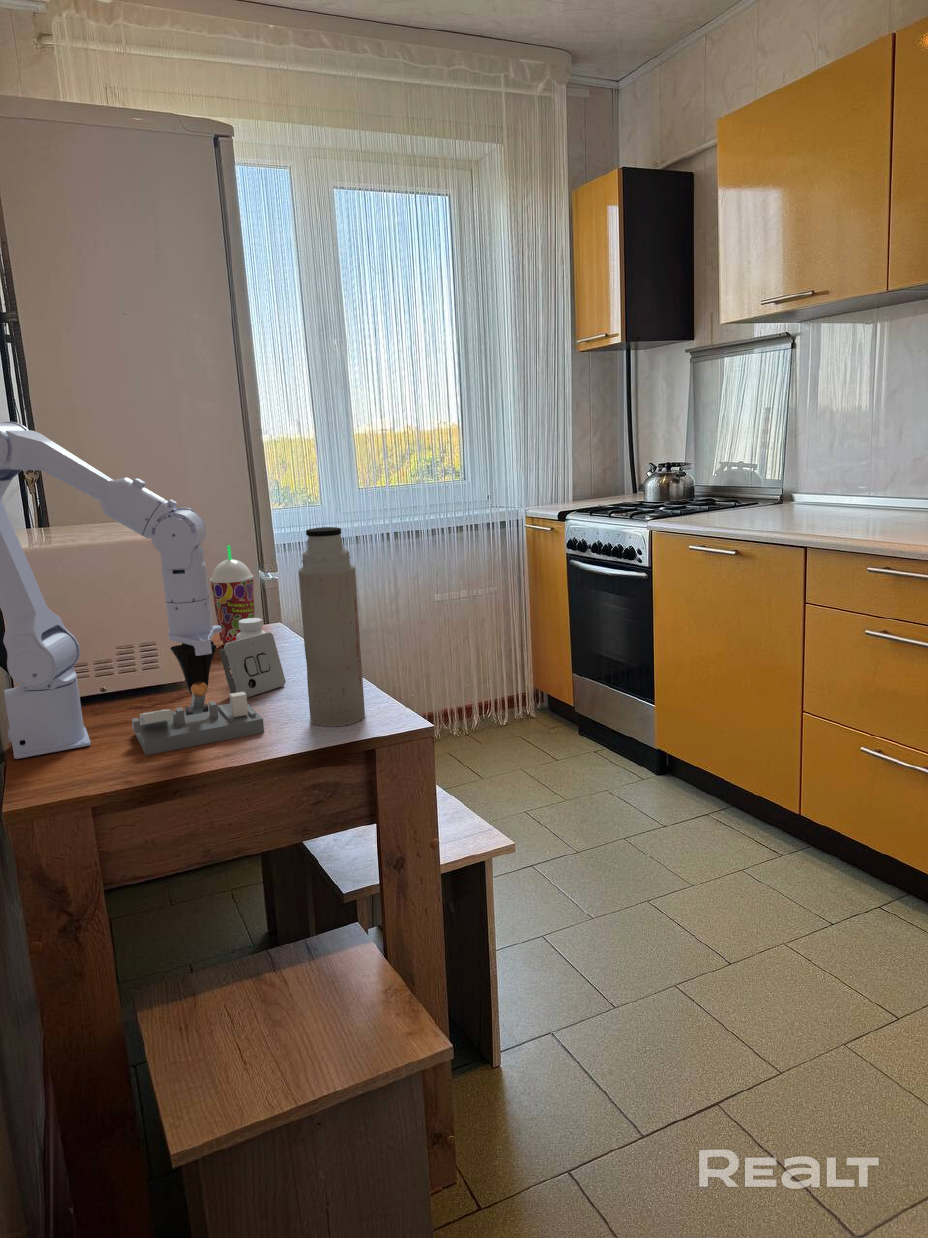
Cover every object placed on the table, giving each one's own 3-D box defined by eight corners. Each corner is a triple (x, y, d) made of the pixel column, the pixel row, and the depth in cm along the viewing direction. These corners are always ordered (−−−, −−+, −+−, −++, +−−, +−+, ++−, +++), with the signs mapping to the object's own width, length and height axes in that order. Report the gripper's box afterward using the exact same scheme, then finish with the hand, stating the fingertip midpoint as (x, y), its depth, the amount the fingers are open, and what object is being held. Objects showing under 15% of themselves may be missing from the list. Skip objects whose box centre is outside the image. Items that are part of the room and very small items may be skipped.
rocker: (145, 723, 117) (144, 713, 117) (140, 722, 122) (139, 713, 122) (173, 718, 119) (171, 708, 119) (167, 717, 124) (165, 708, 124)
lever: (187, 720, 123) (190, 693, 117) (183, 707, 124) (186, 680, 118) (208, 716, 124) (213, 690, 118) (205, 703, 125) (209, 676, 119)
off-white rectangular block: (234, 717, 123) (232, 696, 122) (231, 714, 125) (229, 694, 124) (248, 714, 124) (246, 694, 123) (245, 711, 125) (243, 691, 125)
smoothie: (237, 651, 170) (227, 549, 165) (207, 646, 174) (197, 547, 170) (268, 641, 177) (259, 543, 172) (239, 637, 181) (230, 541, 177)
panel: (141, 756, 116) (137, 727, 115) (130, 734, 124) (127, 708, 124) (264, 732, 123) (261, 705, 122) (246, 713, 132) (243, 687, 131)
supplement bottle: (239, 679, 150) (233, 624, 148) (239, 671, 155) (234, 618, 153) (271, 676, 151) (266, 622, 149) (270, 668, 156) (265, 615, 154)
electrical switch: (241, 701, 138) (232, 644, 137) (221, 699, 142) (213, 643, 140) (287, 686, 145) (279, 632, 144) (267, 684, 149) (259, 631, 147)
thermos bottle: (366, 707, 132) (353, 523, 126) (363, 725, 125) (350, 529, 119) (313, 710, 132) (298, 526, 126) (307, 728, 124) (291, 532, 118)
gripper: (230, 603, 114) (240, 702, 117) (205, 587, 127) (215, 677, 130) (174, 611, 111) (187, 712, 114) (155, 593, 124) (166, 685, 127)
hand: (198, 694), depth 122 cm, fingers closed, pressing on lever
